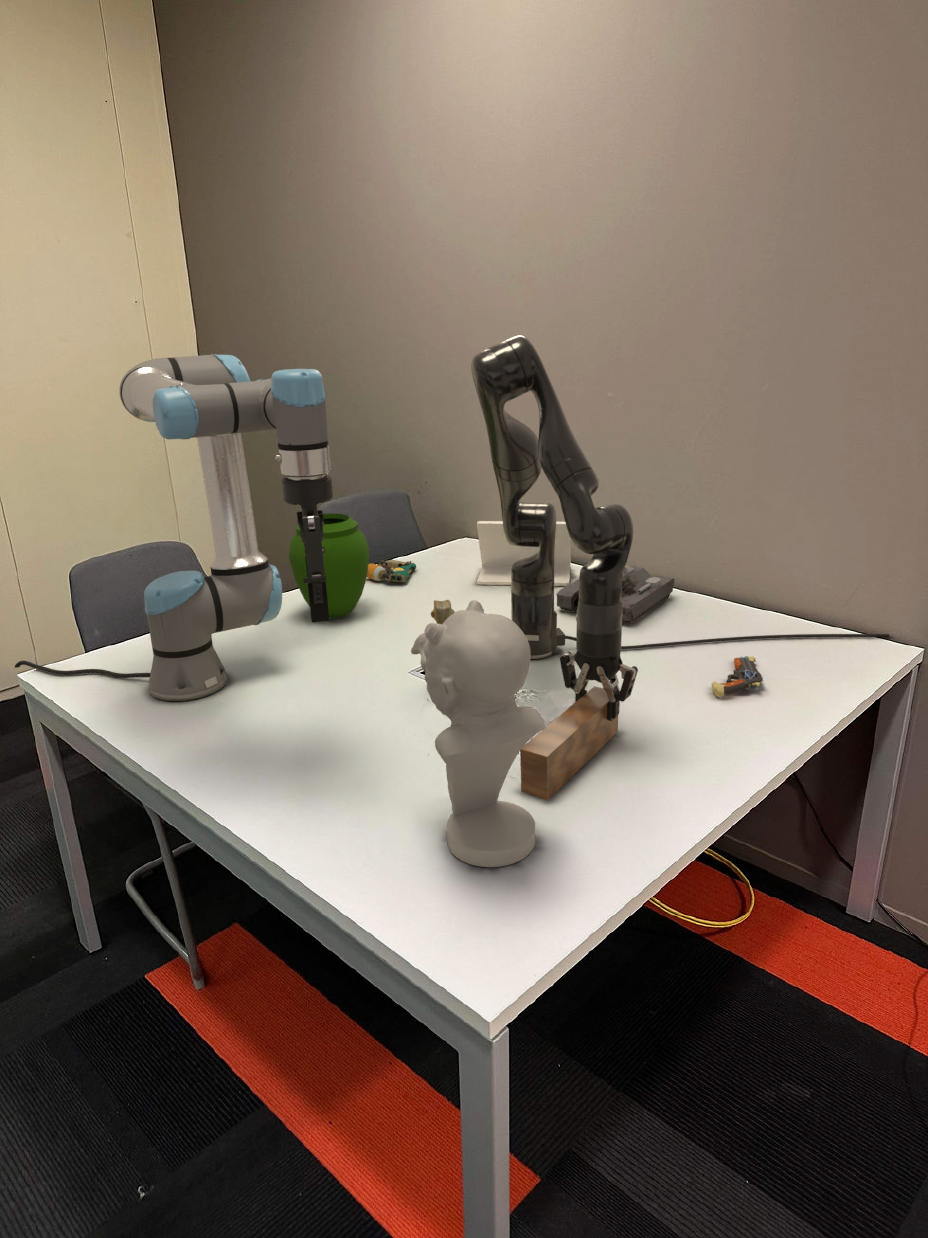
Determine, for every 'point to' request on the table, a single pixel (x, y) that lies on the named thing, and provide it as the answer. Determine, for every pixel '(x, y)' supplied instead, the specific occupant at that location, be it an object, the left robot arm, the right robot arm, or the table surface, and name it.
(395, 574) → the spray gun
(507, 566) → the tablet stand
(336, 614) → the vase
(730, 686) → the toy gun
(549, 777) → the bar
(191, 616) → the left robot arm
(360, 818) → the table surface
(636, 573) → the toy
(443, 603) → the sculpture
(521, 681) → the bust sculpture
